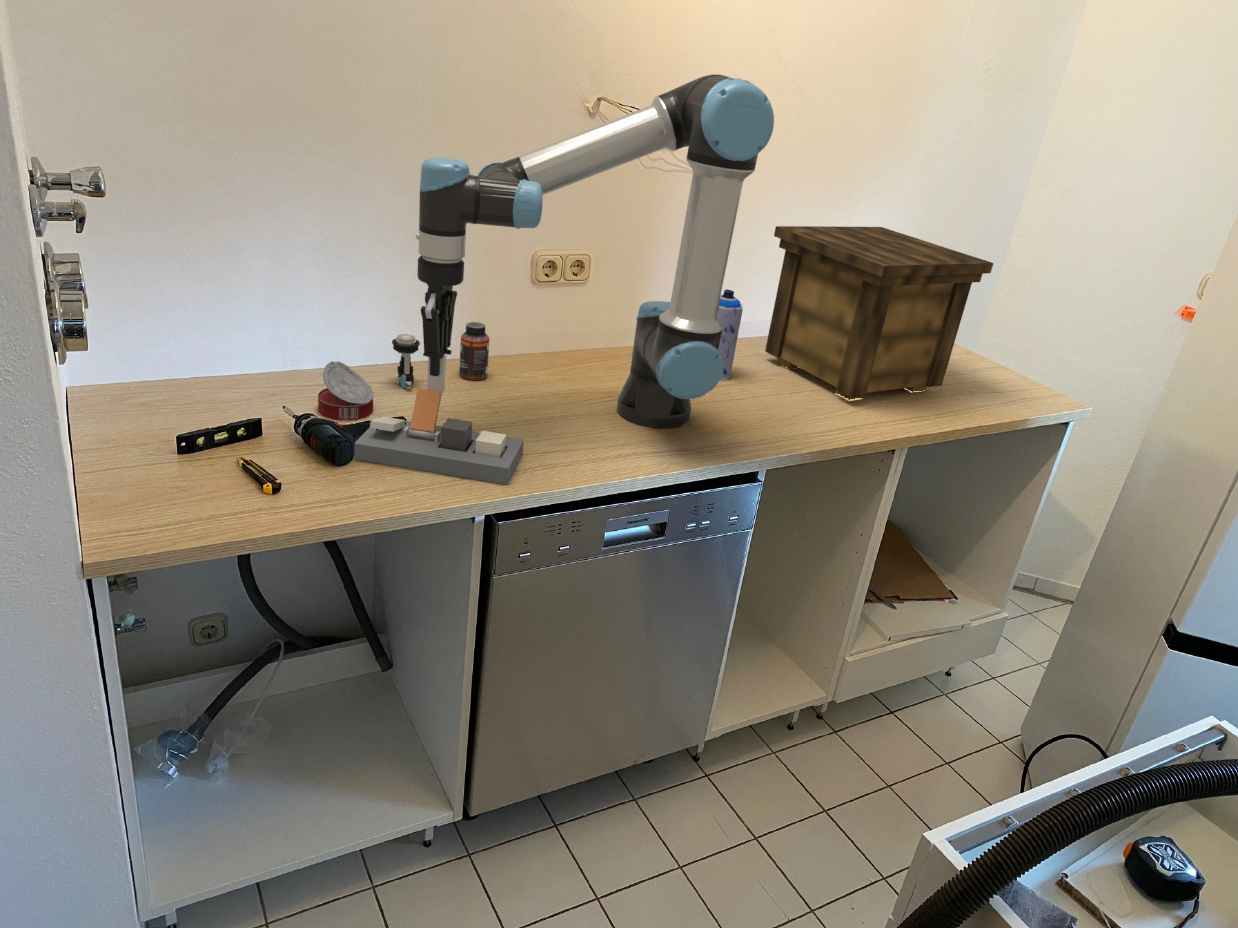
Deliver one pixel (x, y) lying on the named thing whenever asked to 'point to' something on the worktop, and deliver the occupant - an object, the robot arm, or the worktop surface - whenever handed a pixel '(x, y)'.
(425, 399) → the paddle lever
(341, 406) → the canned food
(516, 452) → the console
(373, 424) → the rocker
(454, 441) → the dark gray button
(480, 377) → the supplement bottle
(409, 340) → the push button
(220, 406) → the worktop surface
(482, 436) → the ivory button
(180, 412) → the worktop surface
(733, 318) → the aerosol can
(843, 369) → the crate
